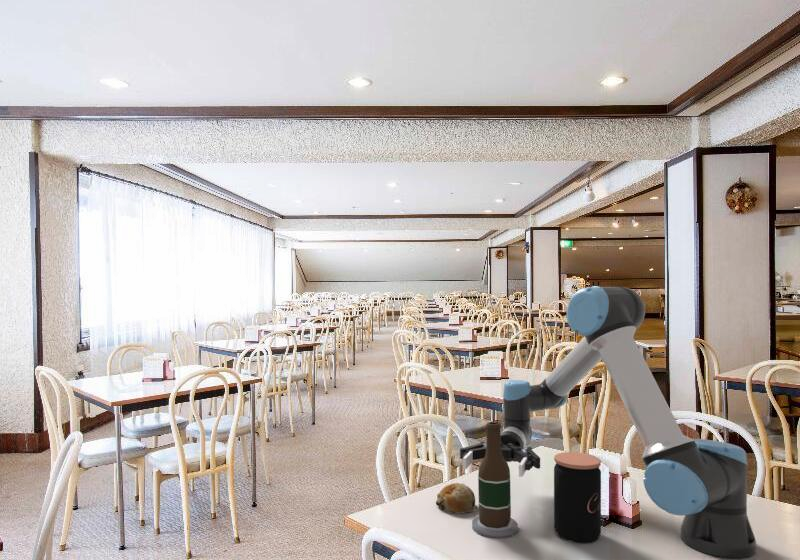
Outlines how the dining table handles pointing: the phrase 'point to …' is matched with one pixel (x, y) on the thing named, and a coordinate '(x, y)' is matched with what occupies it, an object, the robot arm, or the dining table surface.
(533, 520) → the dining table surface
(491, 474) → the beer bottle
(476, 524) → the dish
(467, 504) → the bread roll
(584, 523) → the coffee jar
